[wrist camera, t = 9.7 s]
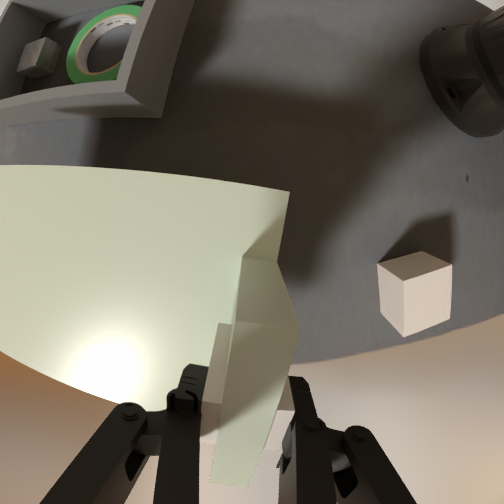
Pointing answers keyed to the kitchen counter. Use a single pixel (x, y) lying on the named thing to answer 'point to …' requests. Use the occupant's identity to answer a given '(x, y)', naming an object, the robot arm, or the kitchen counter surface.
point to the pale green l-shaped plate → (149, 290)
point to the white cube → (415, 291)
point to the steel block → (39, 58)
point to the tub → (93, 93)
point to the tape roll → (87, 38)
